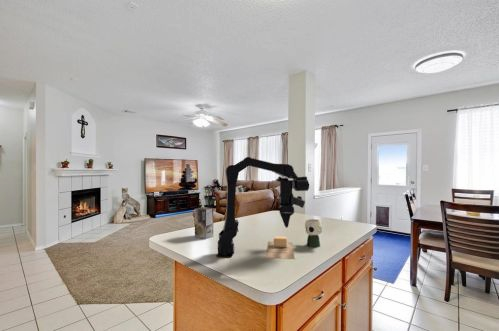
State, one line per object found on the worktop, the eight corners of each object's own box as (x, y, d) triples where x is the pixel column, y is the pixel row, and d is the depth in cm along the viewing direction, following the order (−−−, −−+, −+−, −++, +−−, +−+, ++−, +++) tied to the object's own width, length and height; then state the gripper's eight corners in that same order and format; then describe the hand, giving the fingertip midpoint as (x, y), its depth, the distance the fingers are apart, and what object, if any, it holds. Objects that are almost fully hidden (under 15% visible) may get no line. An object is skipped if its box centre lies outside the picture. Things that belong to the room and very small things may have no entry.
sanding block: (273, 246, 107) (273, 238, 107) (274, 244, 111) (273, 236, 111) (286, 247, 106) (286, 238, 106) (286, 244, 110) (286, 236, 110)
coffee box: (213, 236, 129) (213, 208, 129) (206, 239, 123) (206, 209, 124) (202, 234, 133) (202, 206, 134) (194, 236, 128) (194, 208, 129)
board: (265, 260, 94) (265, 257, 94) (268, 243, 115) (268, 241, 115) (294, 261, 92) (294, 259, 92) (292, 244, 114) (292, 242, 114)
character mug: (300, 245, 112) (299, 219, 113) (310, 243, 116) (310, 217, 116) (316, 252, 103) (316, 223, 103) (327, 249, 106) (327, 221, 107)
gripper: (306, 193, 95) (306, 230, 94) (301, 189, 113) (302, 221, 113) (279, 193, 96) (279, 229, 96) (279, 189, 115) (279, 220, 114)
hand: (286, 225), depth 105 cm, fingers open, 9 cm apart
